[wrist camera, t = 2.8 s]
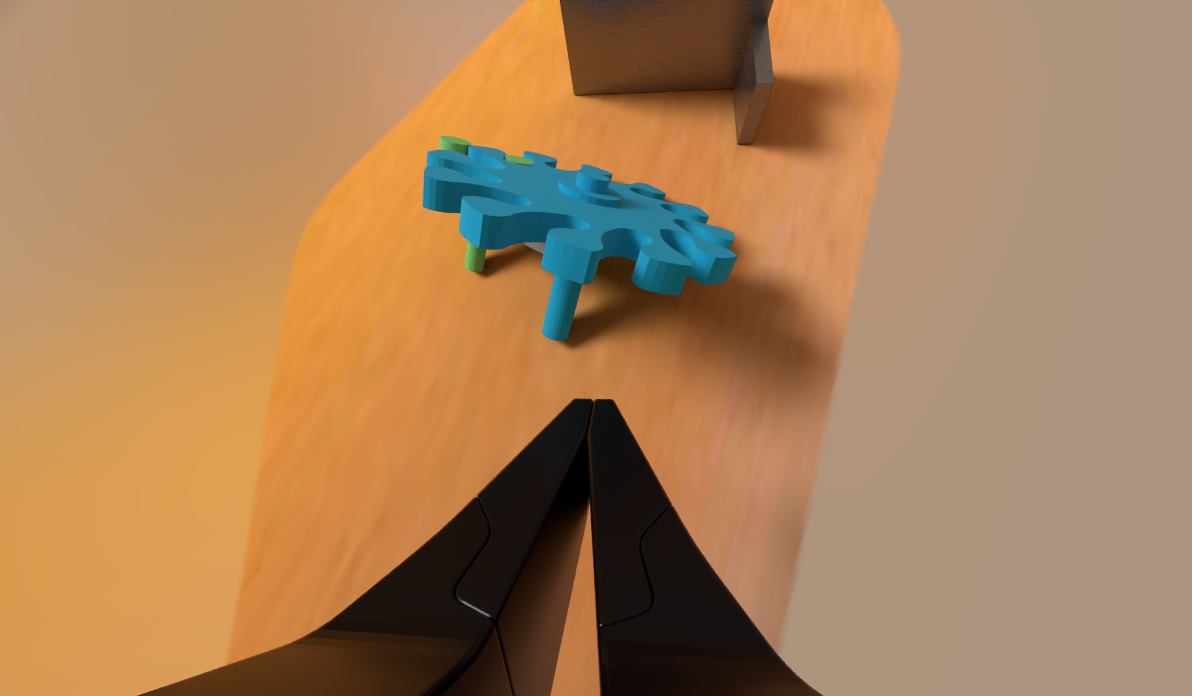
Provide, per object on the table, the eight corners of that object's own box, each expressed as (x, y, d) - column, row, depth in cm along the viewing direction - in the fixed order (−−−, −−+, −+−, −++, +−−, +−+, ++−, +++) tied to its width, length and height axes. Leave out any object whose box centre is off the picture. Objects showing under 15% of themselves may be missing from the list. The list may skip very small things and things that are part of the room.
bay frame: (751, 143, 18) (788, 42, 14) (570, 148, 19) (553, 54, 15) (745, 70, 19) (778, -44, 15) (575, 77, 20) (559, -30, 16)
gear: (779, 219, 15) (669, 273, 8) (713, 352, 19) (588, 486, 11) (545, 128, 19) (313, 101, 12) (523, 250, 22) (328, 295, 15)
